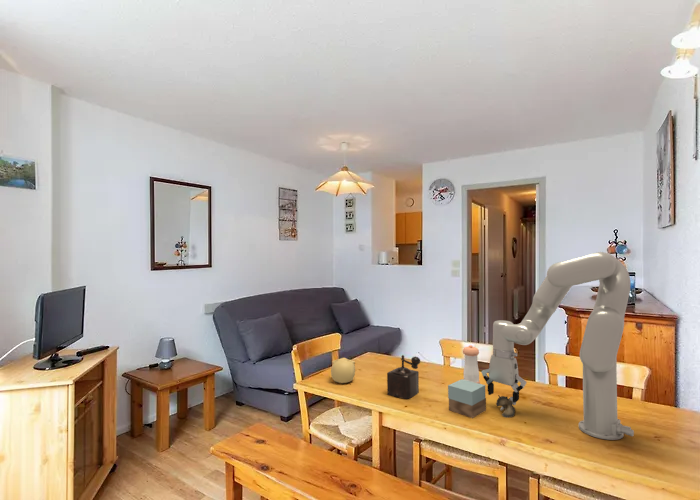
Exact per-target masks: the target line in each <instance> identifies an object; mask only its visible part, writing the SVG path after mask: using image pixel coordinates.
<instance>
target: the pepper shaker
mask: <svg viewBox="0 0 700 500" xmlns="http://www.w3.org/2000/svg"><path fill="white" fill-rule="evenodd" d="M462 353H463V354H462V355H464V367H463V378H462V379H463V380H467V381H471V382H475V383H479V384H481V381H480V370H479V366H478V364H479V363H478V355H479V354H480V350H479V348H477V347H475V346H473V345H471V344H470V345H468V346H465V347H463V349H462Z"/></svg>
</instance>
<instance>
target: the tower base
mask: <svg viewBox="0 0 700 500" xmlns="http://www.w3.org/2000/svg"><path fill="white" fill-rule="evenodd" d="M448 411H451V412H454V413H457V414H458V415H459V414H460V415H463V416H466V417H469V418H471V419H473V418H475V417H477V416H479V415H481V414H482V413H484V412H486V411H487V397H485V399H483V400H481V401H480V402H478V403H476V404H474V405H472V406H471V405H468V404H465V403H462V402H459V401H455V400H452V399H449V398H448Z"/></svg>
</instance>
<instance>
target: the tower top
mask: <svg viewBox="0 0 700 500" xmlns="http://www.w3.org/2000/svg"><path fill="white" fill-rule="evenodd" d="M463 379H464V378H462V379H458V380H457V381H455V382H453V383H451V384H448V385H447V397H448V400H449V399H452V400H455V401H459V402H462V403H465V404H468V405H471V406H472V405H474V404H476V403H478V402H480V401H481V400H483V399H485V398H486V385H485V384H482V383H480V384H479V383H475V382H471V381H467V380H463Z"/></svg>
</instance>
